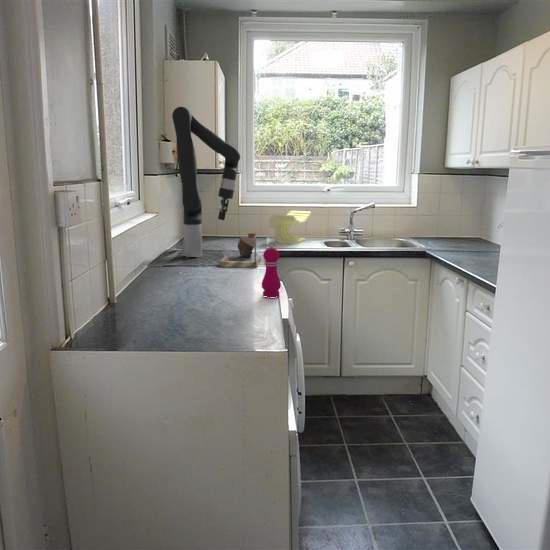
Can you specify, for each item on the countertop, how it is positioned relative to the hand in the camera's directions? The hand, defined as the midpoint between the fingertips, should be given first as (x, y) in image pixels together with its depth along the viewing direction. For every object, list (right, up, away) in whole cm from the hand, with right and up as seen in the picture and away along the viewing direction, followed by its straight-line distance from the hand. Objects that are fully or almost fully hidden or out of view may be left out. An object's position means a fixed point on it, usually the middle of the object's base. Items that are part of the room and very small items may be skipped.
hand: (221, 219), depth 265 cm
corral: (+11, -23, -10) cm, 27 cm away
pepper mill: (+26, -37, -70) cm, 83 cm away
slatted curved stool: (+37, -8, +57) cm, 68 cm away
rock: (+13, -19, +7) cm, 24 cm away
